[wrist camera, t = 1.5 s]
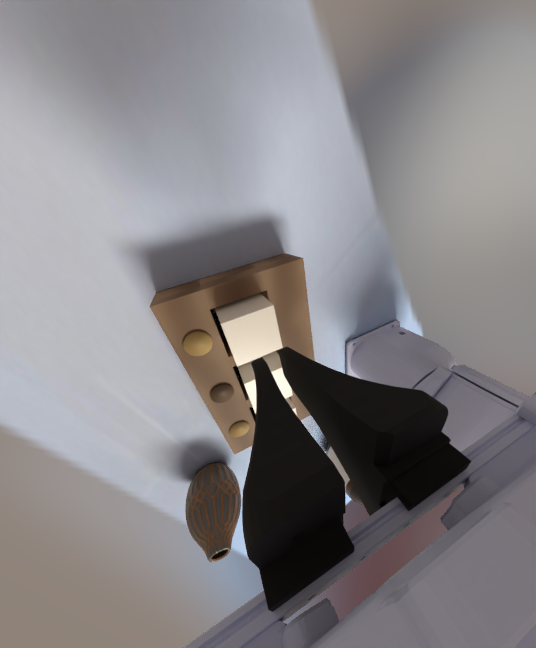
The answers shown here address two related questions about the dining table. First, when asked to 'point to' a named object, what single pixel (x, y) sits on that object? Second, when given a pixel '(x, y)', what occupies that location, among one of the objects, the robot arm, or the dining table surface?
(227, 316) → the button
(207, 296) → the button board
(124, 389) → the dining table surface
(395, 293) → the dining table surface
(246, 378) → the button middle
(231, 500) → the vase
